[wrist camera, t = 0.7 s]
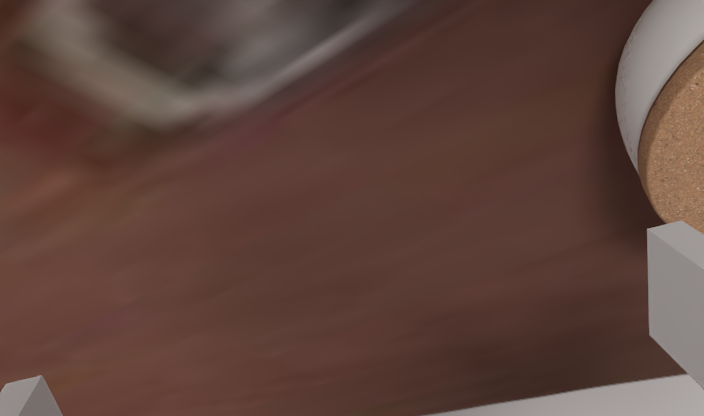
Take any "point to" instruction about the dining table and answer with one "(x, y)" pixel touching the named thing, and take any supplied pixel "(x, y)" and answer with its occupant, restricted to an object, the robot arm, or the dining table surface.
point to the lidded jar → (666, 107)
